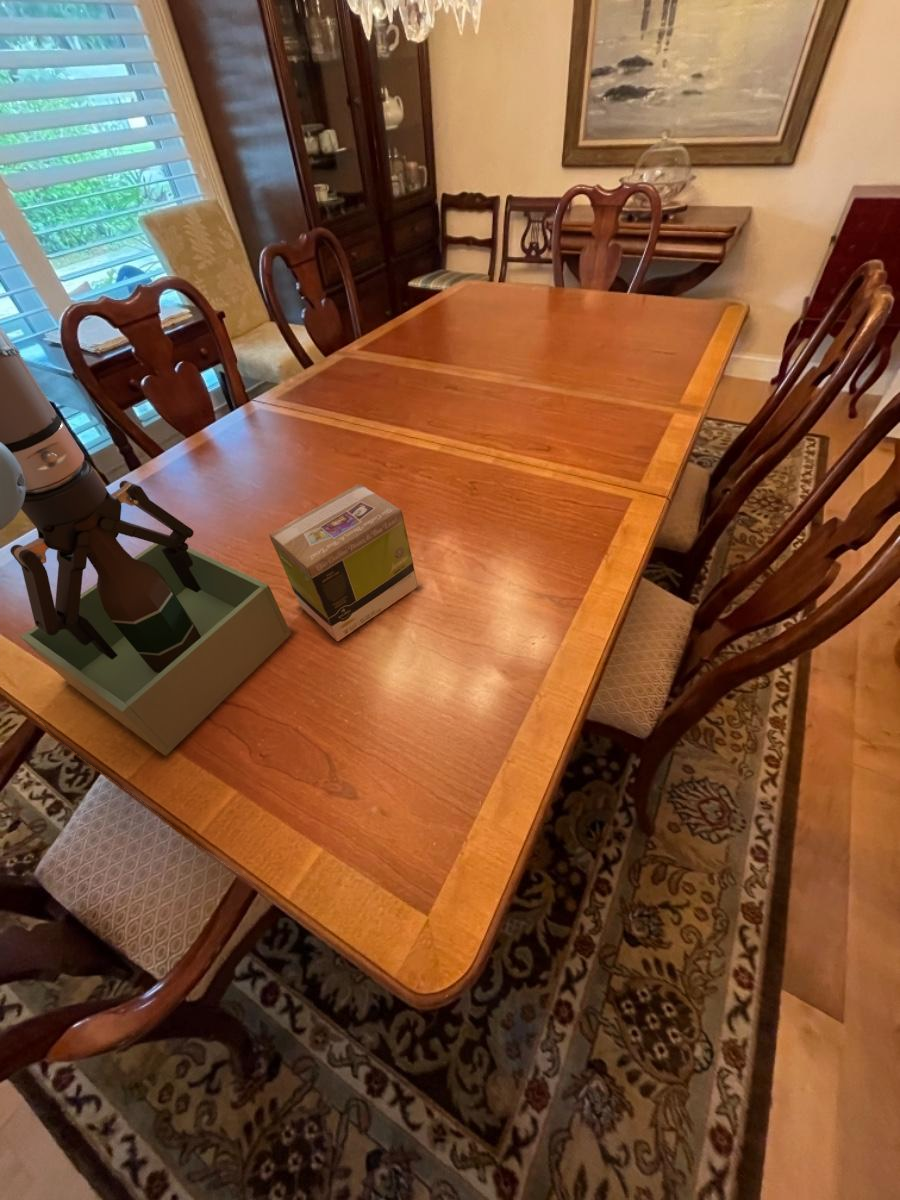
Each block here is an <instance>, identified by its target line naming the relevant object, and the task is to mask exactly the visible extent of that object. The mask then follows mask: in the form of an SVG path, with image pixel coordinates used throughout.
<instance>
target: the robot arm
mask: <svg viewBox="0 0 900 1200" xmlns="http://www.w3.org/2000/svg"><path fill="white" fill-rule="evenodd" d="M20 353H21V352H20V350H19V348H18V347H17V346H16V345H15V344H14V343H13V341H12V340H11V338H10V337H9V336H8V334H7V333H6V331H5V330H4V328H3V327H2V326H1V325H0V531H2V530H4V529H5V528H6V527H7V526H9V525H10V524H11V523H12V522H13V521H14V520H15V519H16V517H17V516H18V515H19V513H20V511H22V512H23V513H24V514H25V516H26V517H27V519H29V521H30V522H31V523H32V524H33V526H34V528H36V530H37V536H38V538H36V539H34V540H32V541H30V542H28V543H27V544H25V545H21V544H13V545H12V546H11V547H10V551H9V552H10V554H11V556H13V557H14V559H15V561H17V563H18V564H19V565H20V567H21V572H22V576H23V580H24V583H25V588H26V593H27V597H28V600H29V601H28V602H29V605H30V609H31V613H32V618H33V620H34V625H35V626H37V627H38V628H40V629H41V630H42V631H44V632H45V633H47V634H48V635H51V636H52V635H55V634H57V633H58V632H59V630H62V629H66V630H67V631H68V632H69V633H70V634H71V636H72V637H73V638H74V639H75V640H77V641H78V642H80V643H81V644H83V645H85V646H86V645H88V644H89V643H90V642H92V643H93V644H94V646H95V647H96V648H97V649H98V650H99V651H100V652H101V653H103V654H104V655H106V656H107V657H109V658H110V659H112V660H113V659H114V658H115V657H116V656H118V655H117V654H116V653H115V652H114V651H113V649H112V648H111V647H110V646H109V645H108V644H107V642H106V641H105V640H104V639H103V638H102V637H101V635H100V634H99V633H98V632H97V631H96V630H95V628H94V627H93V626H92V625H91V624H90V623H89V621H88V620H87V619H85V618H83V617H82V616H80V615H79V607H80V597H81V594H82V585H83V573H84V570H85V569H86V568H87V563H88V562H87V561H88V558H87V556H94V555H93V552H92V550H91V549H90V547H89V545H90V534H89V533H87V532H85V531H76V530H75V528H74V526H73V525H74V524H75V523H76V522H77V521H78V520H80V519H82V518H84V517H86V516H88V515H89V514H91V513H93V512H95V513H96V514H97V515H99V516H100V518H99V520H98V523H97V525H98V526H99V527H101V528H103V529H105V530H107V531H108V532H109V533H110V535H111V536H112V537H113V538H114V539H115V541H118V540H117V538H118V536H119V534H121V535H124V536H127V537H131V538H136V539H139V540H141V541H142V540H144V541H146V542H149V543H153V544H154V543H156V544H159V545H163V546H166V547H165V548H163V549H162V551H163V553H164V555H165V556H166V558H167V560H168V561H169V563H170V564H171V566H172V568H173V569H174V571H175V572H176V574H177V576H178V577H179V579H180V580H181V582H182V584H183V585H184V586H185V587H187V588H189V589H191V590H192V591H194V592H196V593H197V592H198V591H200V590H201V588H200V586H199V585H198V583H197V581H196V579H195V578H194V576H193V574H192V573H191V571H190V569H189V567H191V566H192V565H193V561H192V559H191V558H190V556H189V554H188V552H187V549H188V547H189V545H188V543H187V542H186V541H187V539H191V538H192V537H193V536H194V534H195V533H194V532H195V531H194V530H193V529H192V528H190V526H188V525H186V524H185V523H184V522H182V521H181V520H179V519H178V518H177V517H175V516H174V515H172V514H171V513H169V512H168V511H167V510H165V509H163V508H162V507H161V506H160V505H158V504H156V503H155V502H153V501H152V500H151V499H150V498H149V497H148V495H147V493H146V492H145V490H144V489H143V488H142V487H141V485H138V484H136V483H133V482H130V481H129V480H122V481H121V482H120V483H119V489H117V490H116V491H114V492H113V493H110V492H109V491H108V489H107V487H106V485H105V484H104V483H103V481H102V480H101V478H100V476H99V475H98V474H97V472H96V471H95V469H94V467H93V465H92V464H91V463H90V462H89V461H88V460H85V454H84V452H83V450H81V448H80V446H79V445H78V443H77V442H76V440H75V438H74V437H73V435H72V434H71V433H70V431H69V429H68V428H67V426H66V424H65V423H64V422H63V420H62V418H61V416H59V414H58V413H57V411H56V410H55V408H54V407H53V406H52V404H51V402H50V401H49V399H48V398H47V396H46V394H45V393H44V391H43V389H42V387H41V386H40V384H39V383H38V381H37V380H36V378H35V376H34V374H33V373H32V371H31V370H30V368H29V367H28V365H27V363H26V362H25V360H24V358H23V357H22V355H21V354H20ZM123 503H124V504H126V505H128V506H131V507H133V506H135V507H137V508H138V509H139V510H141V511H142V512H144V513H145V514H147V515H149V516H150V517H151V518H153V519H154V520H156V521H158V522H159V523H160V524H162V525H163V526H166V527H167V528H168V529H170V530H171V531H172V532H171V533H170V534H167V533H164V532H160V531H157V530H154V529H151V528H148V527H144V526H142V525H138V524H135V523H131V522H129V521H125V520H123V519H121V515H122V504H123ZM49 549H51V550H54V551H56V561H57V562H58V566H57V567H58V569H57V581H56V592H55V602H54V597H53V592H52V588H51V584H50V579H49V575H48V571H47V569H46V566H45V565H44V564H46V563H47V555H46V552H47V550H49Z"/></svg>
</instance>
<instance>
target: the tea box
mask: <svg viewBox="0 0 900 1200" xmlns="http://www.w3.org/2000/svg"><path fill="white" fill-rule="evenodd" d="M268 535H269V538H270V541H271V543H272V545H273V548H274V550H275V552H276V555H277V557H278V559H279V561H280V563H281V566H282V567H283V570H284V572H285V575H286V576H287V579H288V581H289V584H290V586H291V589H292V591H293V592H294V595H295V597H296V599H297V601H298V603H299V605H300V607H301V608H302V609H303V610H304V611H305V612H306V613H307V614H308V615H309V616H310V617H311V618H312V619H314V620H315V622H316V623H317V624H318V625H319V626H320V627H322V628H323V629H324V630H325V631H326V632H327V633H328V634H329V635H330V636H331V637H332V638H333V639H334V640H335V641H336V642H340V641H341V640H342V639H344V638H346V637H347V636H348V635H349V634H351V633H352V632H354V631H355V630H357V629H358V628H359V627H361V626H363V625H364V624H365V623H367V622H368V621H370V620H371V619H372V618H374V617H376V616H377V615H379V614H380V613H382V612H383V611H384V610H387V609H388V608H389V607H390V606H392V605H393V604H395V603H396V602H398V601H399V600H401V599H402V598H403V597H405V596H407V595H408V594H409V593H411V592H413V590H415V589H417V588H418V586H419V585H418V579H417V575H416V571H415V566H414V561H413V556H412V551H411V546H410V541H409V537H408V533H407V529H406V523H405V519H404V515H403V510H402V509H400V508H399V507H398V506H396V505H394V504H392V503H391V502H389V501H388V500H386V499H384V498H383V497H381V496H380V495H378V494H376V493H375V492H374V491H371V490H370V489H368V488H367V487H365V486H364V485H362V484H361V483H358V484H355V485H353V486H352V487H350V488H348V489H346V490H345V491H343V492H341V493H338V495H336V496H333V498H331V499H329V500H327V501H326V502H324V503H322V504H320V505H318V506H316V507H315V508H314V507H313V508H312V509H311V510H309V511H307V512H305V513H303V514H302V515H300V516H298V517H296V518H295V519H293V520H291V521H289V522H288V523H286V524H285V525H283V526H281V527H279V528H278V529H276V530H273V531H272V532H270V533H269V534H268Z"/></svg>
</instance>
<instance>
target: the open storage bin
mask: <svg viewBox="0 0 900 1200" xmlns="http://www.w3.org/2000/svg"><path fill="white" fill-rule="evenodd" d="M165 547H166V546H163V545H159V544H156V543H153V544H151V545H150V546H148V547H147V548H145V549H144V550H142V551H141V552H140V553H138V554H136V556H134V557H132V558H133V559H136V560H139V561H142V562H145V563H148V564H149V565H151V566H152V567H154V568H155V569H157V570H158V571H159V573H160V574H161V575H162V576H163V578H164V579H165V580H166V582H167V583H168V585H169V586H170V588H171V590H172V591H173V593H174V594H175V596H176V597H177V599H178V600H179V602H180V603H181V605H182V606H183V608H184V609H185V611H186V613H187V614H188V616H189V617H190V619H191V620H192V622H193V623H194V625H195V627H196V628H197V630H198V632H199V634H200V636H201V638H200V639H199V640H198V641H196V642H195V643H194V644H193V645H192V646H191V647H189V648H188V649H187V650H186V651H185V652H184V653H182V654H181V655H180V656H179V657H178V658H177V659H175V660H174V661H173V662H172V663H171V664H170V665H168V666H167V667H166V668H165V669H164V670H163V671H161V672H160V673H157V672H154V671H153V670H152V669H151V668H150V667H149V666H148V664H147V663H146V662H145V661H144V660H143V658H142V657H141V656H140V655H139V653H138V652H137V651H136V650H135V649H134V647H133V646H132V645H131V644H130V642H129V641H128V640H127V639H126V638H125V636H124V635H123V634H122V633H121V631H120V630H119V629H118V628H117V626H116V625H115V624H114V623H113V622H112V620H111V619H110V617H109V616H108V614H107V613H106V611H105V610H104V608H103V605H102V602H101V599H100V596H99V593H98V589H97V583H95V584H94V585H93V586H91V587H89V588H88V589H86V590H85V591H84V592H81V597H80V607H79V615H80V616H82V617H83V618H85V619H87V620H88V621H89V623H90V624H91V625H92V626H93V627H94V628H95V630H96V631H97V632H98V633H99V634H100V635H101V637H102V638H103V639H104V640H105V641H106V642H107V644H108V645H109V646H110V647H111V648H112V649H113V651H114V652H115V653H116V654H117V655H118V656H116V657H115V658H114V659H113V660H112V659H110V658H109V657H107V656H106V655H104V654H103V653H101V652H100V651H99V650H98V649H97V648H96V647H95V646H94V644H93V643H92V642H90V643H89V644H88V645H86V646H85V645H83V644H81V643H80V642H78V641H77V640H75V639H74V638H73V637H72V636H71V634H70V633H69V632H68V631H67V630H66V629H62V630H59V632H58V633H57V634H55V635H52V636H51V635H48V634H47V633H45V632H44V631H42V630H41V629H40V628H38V627H37V626H36V625H35V626H33V627H32V628H30V629H29V630H28V631H26V632H24V633H23V634H21V635H20V636H19V638H21V640H23V642H25V643H26V644H27V645H28V646H29V647H30V648H31V649H32V650H33V651H34V652H35V653H36V654H37V655H38V656H39V657H41V659H43V660H44V661H45V662H46V663H47V664H48V665H49V666H50V667H51V668H52V669H53V671H55V672H56V673H57V674H58V675H59V676H60V677H61V678H62V679H64V680H65V682H67V683H68V684H69V685H70V686H71V687H73V688H74V689H75V690H77V691H78V692H79V693H81V694H82V695H83V696H84V697H86V698H87V699H88V700H90V701H92V702H93V703H94V704H95V705H97V706H98V707H100V708H101V709H102V710H103V711H105V712H106V713H107V714H108V715H110V716H111V717H112V718H114V719H115V720H117V721H118V722H119V723H121V724H122V725H123V726H124V727H126V728H127V729H128V730H130V731H131V732H132V733H134V734H135V735H137V736H138V737H139V738H140V739H142V740H143V741H144V742H146V743H147V744H149V745H150V746H151V747H153V748H154V749H155V750H157V751H158V752H159V753H160V754H162V755H163V756H165V757H167V756H168V755H169V754H170V753H171V752H172V751H173V750H174V749H175V748H176V747H177V746H178V745H179V744H180V743H181V742H183V740H185V738H186V737H187V736H188V735H190V734H191V733H192V732H193V731H194V730H195V729H196V728H197V727H198V726H199V725H200V724H201V723H202V722H203V721H204V720H205V719H206V718H207V717H208V716H209V715H210V714H211V713H212V712H213V711H214V710H216V708H217V707H219V705H220V704H222V703H223V701H225V699H227V698H228V697H229V695H231V694H232V693H233V692H234V691H235V690H236V689H237V688H238V687H239V686H240V685H241V684H242V683H243V682H244V681H245V680H246V679H247V678H248V677H249V676H250V675H252V674H253V672H254V671H255V670H256V669H258V668H259V666H261V665H262V664H263V663H264V662H265V661H267V659H268V658H269V657H270V656H271V655H272V654H274V652H275V651H276V650H277V649H278V648H279V647H280V646H282V644H283V643H285V642H286V641H287V639H288V638H289V637H290V636H292V633H291V630H290V628H289V626H288V624H287V622H286V620H285V619H286V618H285V617H284V615H283V613H282V611H281V609H280V606H279V605H278V602H277V599H276V598H275V596H274V593H273V591H272V589H271V587H270V584H268V583H266V582H263V581H261V580H259V579H257V578H255V577H253V576H251V575H248V574H247V573H244V572H242V571H240V570H238V569H236V568H234V567H232V566H230V565H227V564H225V563H223V562H221V561H219V560H217V559H215V558H213V557H211V556H209V555H207V554H204V553H202V552H200V551H198V550H195V549H193V548H191V547H190V546H188V549H187V552H188V554H189V556H190V558H191V559H192V561H193V565H192V566H191V567H189V569H190V571H191V573H192V574H193V576H194V578H195V579H196V581H197V583H198V585H199V586H200V588H201V590H200V591H198V592H197V593H196V592H194V591H192V590H191V589H189V588H187V587H185V586H184V585H183V584H182V582H181V580H180V579H179V577H178V576H177V574H176V572H175V571H174V569H173V568H172V566H171V564H170V563H169V561H168V560H167V558H166V556H165V555H164V553H163V551H162V549H163V548H165Z"/></svg>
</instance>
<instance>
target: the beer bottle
mask: <svg viewBox="0 0 900 1200" xmlns="http://www.w3.org/2000/svg"><path fill="white" fill-rule="evenodd" d="M99 518H100V516H99V515H97V514H96V513H95V512H93V513H91V514H89V515H88V516H86V517H84V518H82V519H80V520H78V521H77V522H76V523H75V524H74V525H73V526H74V528H75V530H76V531H85V532H87V533H89V534H90V545H89V547H90V549H91V550H92V552H93V555H94V556H87V560H88V561H89V562H90V564H91V565H92V567H93V569H94V570H95V572H96V574H97V581H96V584H97V589H98V593H99V596H100V599H101V602H102V605H103V608H104V610H105V611H106V613H107V614H108V616H109V617H110V619H111V620H112V622H113V623H114V624H115V625H116V626H117V628H118V629H119V630H120V631H121V633H122V634H123V635H124V636H125V638H126V639H127V640H128V641H129V642H130V644H131V645H132V646H133V647H134V649H135V650H136V651H137V652H138V653H139V655H140V656H141V657H142V658H143V660H144V661H145V662H146V663H147V664H148V666H149V667H150V668H151V669H152V670H153V671H154V672H157V673H160V672H161V671H163V670H164V669H165V668H166V667H167V666H168V665H170V664H171V663H172V662H173V661H174V660H175V659H177V658H178V657H179V656H180V655H181V654H182V653H184V652H185V651H186V650H187V649H188V648H189V647H191V646H192V645H193V644H194V643H195V642H196V641H198V640H199V639H200V638H201V636H200V634H199V632H198V630H197V628H196V627H195V625H194V623H193V622H192V620H191V619H190V617H189V616H188V614H187V613H186V611H185V609H184V608H183V606H182V605H181V603H180V602H179V600H178V599H177V597H176V596H175V594H174V593H173V591H172V590H171V588H170V586H169V585H168V583H167V582H166V580H165V579H164V578H163V576H162V575H161V574H160V573H159V571H158V570H157V569H155V568H154V567H152V566H151V565H149V564H148V563H145V562H142V561H139V560H136V559H133V558H134V557H133V556H132V555H130V553H129V552H127V550H126V549H125V548H124V547H123V546H122V545H121V543H120V542H119V540H117V541H115V539H114V538H113V537H112V536H111V535H110V533H109V532H108V531H107V530H105V529H103V528H101V527H99V526H98V525H97V523H98V520H99Z"/></svg>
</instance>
